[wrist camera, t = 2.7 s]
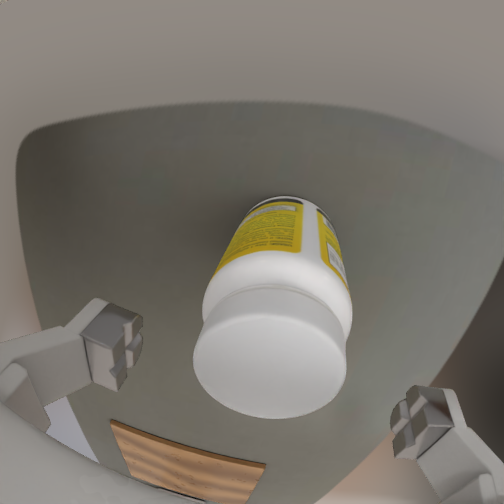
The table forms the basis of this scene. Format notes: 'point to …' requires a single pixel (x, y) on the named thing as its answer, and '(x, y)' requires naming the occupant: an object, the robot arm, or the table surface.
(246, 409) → the supplement bottle
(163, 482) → the wooden board
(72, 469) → the robot arm
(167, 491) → the milk carton
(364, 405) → the table surface
